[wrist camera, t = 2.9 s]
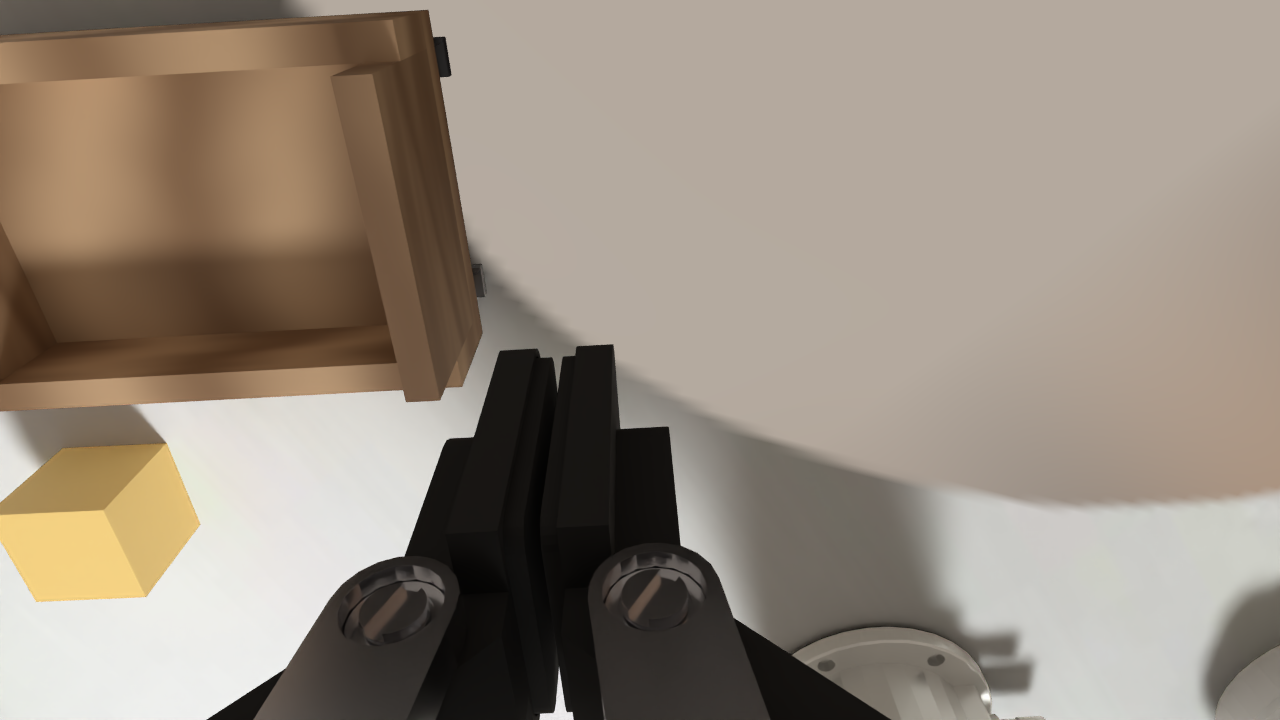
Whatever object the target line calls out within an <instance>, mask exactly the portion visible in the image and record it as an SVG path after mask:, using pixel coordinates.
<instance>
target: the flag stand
mask: <svg viewBox="0 0 1280 720" xmlns="http://www.w3.org/2000/svg"><path fill="white" fill-rule="evenodd" d="M1215 720H1280V645H1279V646H1277V647H1275V648H1273V649H1271V650H1269V651H1268V652H1266V653H1265V654H1263V655H1262V656H1260V657H1259V658H1257V659H1255V660H1254V661H1253V662H1251V663H1250V664H1249V665H1248V666H1247V667H1245V668H1244V669H1243V670H1242V671H1241V672H1240V673H1238V674H1237V676H1236V677H1235V678H1234V679H1233V680H1232V681H1231V682H1230V684H1229V685H1228V686H1227V687H1226V689H1225V690H1224V692H1223V694H1222V696H1221V697H1220V699H1219V701H1218V705H1217V708H1216V712H1215Z"/></svg>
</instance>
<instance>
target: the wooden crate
mask: <svg viewBox="0 0 1280 720" xmlns="http://www.w3.org/2000/svg"><path fill="white" fill-rule="evenodd" d="M482 333H483V332H482V326H481V320H480V314H479V308H478V302H477V296H476V290H475V284H474V278H473V272H472V266H471V260H470V255H469V249H468V243H467V237H466V231H465V225H464V219H463V213H462V207H461V202H460V195H459V189H458V183H457V178H456V172H455V165H454V160H453V154H452V148H451V142H450V136H449V130H448V124H447V118H446V112H445V106H444V100H443V95H442V88H441V82H440V76H439V70H438V64H437V58H436V53H435V47H434V41H433V35H432V29H431V23H430V17H429V11H428V10H420V11H404V12H386V13H368V14H352V15H335V16H317V17H300V18H283V19H266V20H249V21H232V22H215V23H198V24H181V25H164V26H147V27H130V28H113V29H96V30H79V31H62V32H44V33H27V34H10V35H0V411H17V410H36V409H55V408H73V407H92V406H111V405H130V404H148V403H167V402H186V401H205V400H224V399H242V398H261V397H280V396H299V395H317V394H336V393H355V392H374V391H392V390H403V391H404V396H405V400H406V402H419V401H438V400H440V399H441V397H442V395H443V392H444V390H445V388H449V387H462V386H463V383H464V381H465V378H466V375H467V373H468V370H469V368H470V365H471V362H472V360H473V357H474V354H475V352H476V349H477V347H478V344H479V341H480V339H481V336H482Z"/></svg>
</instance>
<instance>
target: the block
mask: <svg viewBox="0 0 1280 720" xmlns="http://www.w3.org/2000/svg"><path fill="white" fill-rule="evenodd" d="M199 526H200V522H199V520H198V517H197V515H196V513H195V510H194V508H193V505H192V503H191V501H190V498H189V496H188V493H187V491H186V489H185V486H184V484H183V481H182V479H181V477H180V474H179V472H178V469H177V467H176V465H175V462H174V460H173V457H172V455H171V452H170V450H169V448H168V445H167V443H159V444H138V445H117V446H97V447H76V448H62V449H61V450H60V451H59V452H58V453H57V454H55V455H54V456H53V457H52V458H51V459H50V460H49V461H47V462H46V463H45V464H44V465H43V466H42V467H41V468H39V469H38V470H37V471H36V472H35V473H34V474H33V475H31V476H30V477H29V478H28V479H27V480H26V481H25V482H23V483H22V484H21V485H20V486H19V487H18V488H17V489H15V490H14V491H13V492H12V493H11V494H10V495H9V496H7V497H6V498H5V499H4V500H3V501H2V502H1V503H0V541H1V543H2V544H3V546H4V548H5V549H6V551H7V553H8V555H9V556H10V558H11V560H12V561H13V563H14V565H15V566H16V568H17V570H18V572H19V573H20V575H21V577H22V578H23V580H24V582H25V583H26V585H27V587H28V588H29V590H30V592H31V594H32V595H33V597H34V599H35V600H36V602H44V601H67V600H89V599H112V598H135V597H146V596H147V595H148V594H149V592H150V591H151V590H152V588H153V587H154V586H155V584H156V583H157V582H158V580H159V579H160V578H161V576H162V575H163V574H164V572H165V571H166V570H167V568H168V567H169V566H170V564H171V563H172V562H173V560H174V559H175V558H176V556H177V555H178V554H179V552H180V551H181V550H182V548H183V547H184V546H185V544H186V543H187V542H188V540H189V539H190V538H191V536H192V535H193V534H194V532H195V531H196V530H197V528H198V527H199Z"/></svg>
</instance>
